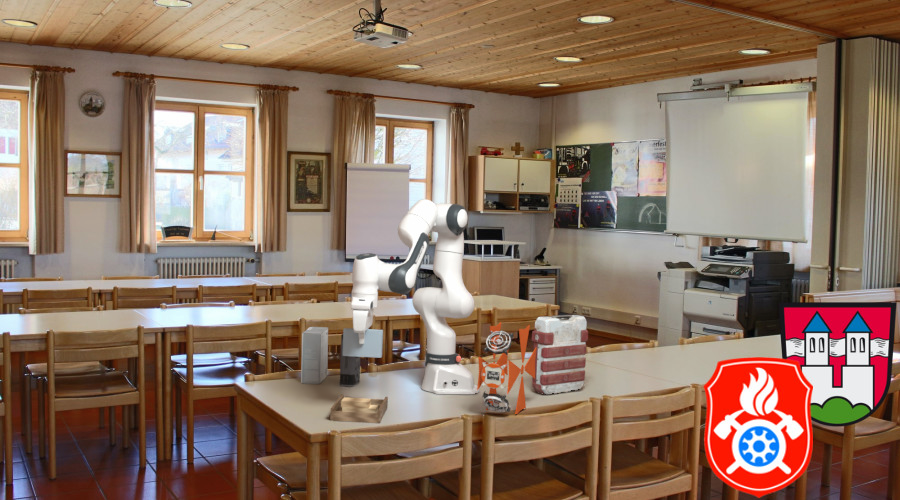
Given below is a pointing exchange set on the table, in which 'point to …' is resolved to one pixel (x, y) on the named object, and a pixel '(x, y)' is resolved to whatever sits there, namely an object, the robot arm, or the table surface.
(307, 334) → the hard drive box
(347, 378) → the electronic device
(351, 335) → the blue-grey flat box
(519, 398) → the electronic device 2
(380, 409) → the wooden tray
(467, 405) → the table surface
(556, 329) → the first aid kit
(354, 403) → the offcut stack
